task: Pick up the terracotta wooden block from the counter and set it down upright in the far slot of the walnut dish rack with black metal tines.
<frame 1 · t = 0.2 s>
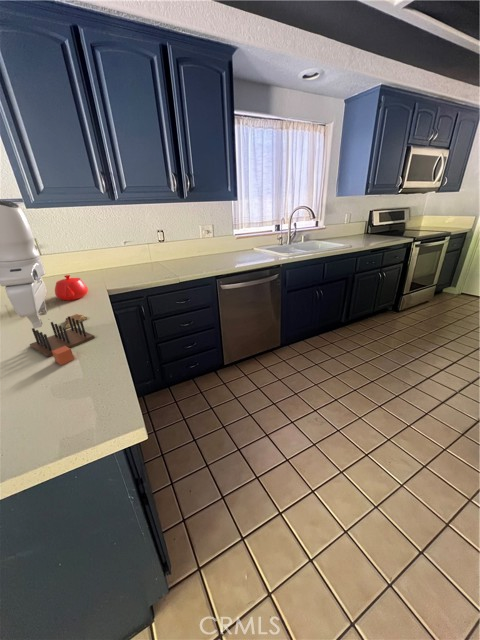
hand: (41, 320, 72), 18 cm above the worktop, tool pointing down, fingers open, 8 cm apart
block: (65, 360, 86), on the worktop
shard: (76, 322, 114), on the worktop
dish rack: (63, 342, 97), on the worktop
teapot: (73, 298, 144), on the worktop
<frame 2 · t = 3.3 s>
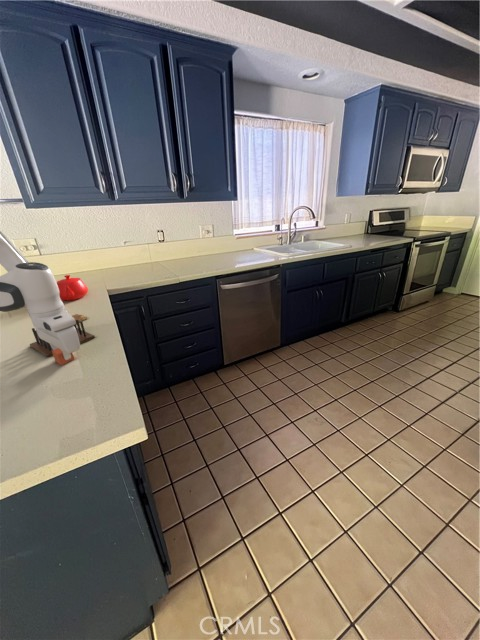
hand: (63, 356, 85), 2 cm above the worktop, tool pointing down, fingers closed on block, 4 cm apart
block: (65, 360, 86), on the worktop, touching gripper
everything else where it was.
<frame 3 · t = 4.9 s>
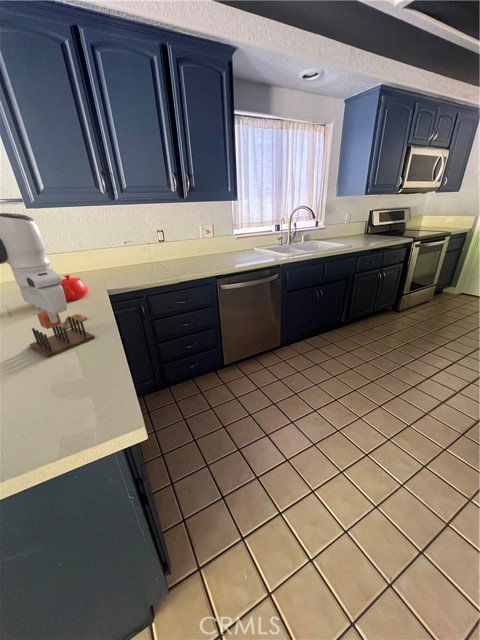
hand: (49, 320, 80), 14 cm above the worktop, tool pointing down, fingers closed on block, 4 cm apart
block: (51, 325, 80), point 13 cm above the worktop, touching gripper
everything else where it was.
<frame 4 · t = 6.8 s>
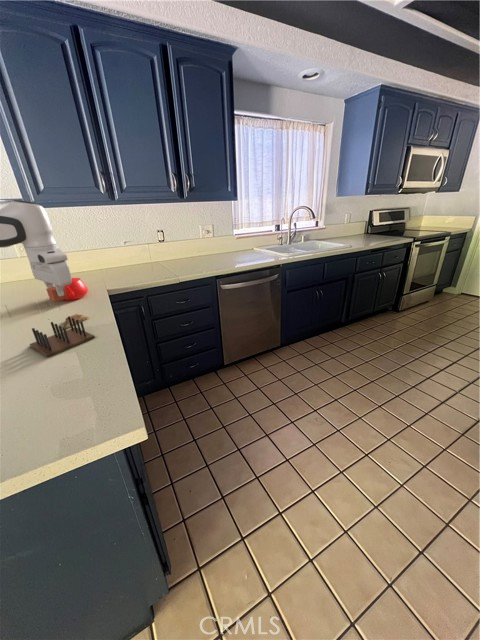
hand: (57, 294, 92), 18 cm above the worktop, tool pointing down, fingers closed on block, 4 cm apart
block: (58, 298, 93), point 16 cm above the worktop, touching gripper
everything else where it was.
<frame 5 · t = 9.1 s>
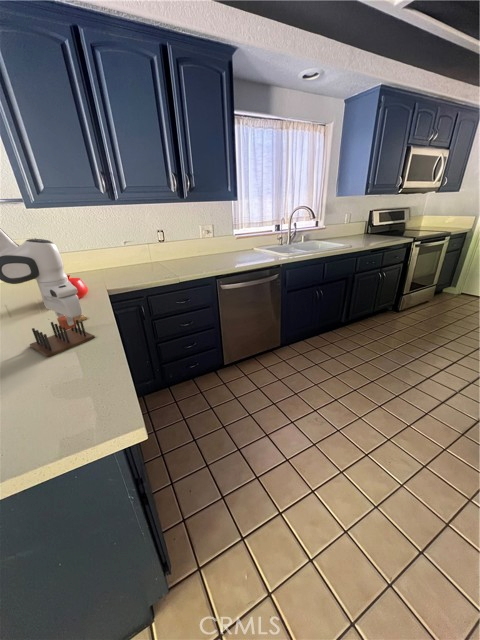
hand: (67, 323, 97), 6 cm above the worktop, tool pointing down, fingers closed on block, 4 cm apart
block: (68, 327, 98), point 5 cm above the worktop, touching gripper
everything else where it was.
when the fingers open (2 cm above the worktop, at t = 10.5 s): block stays where it is, resting on dish rack.
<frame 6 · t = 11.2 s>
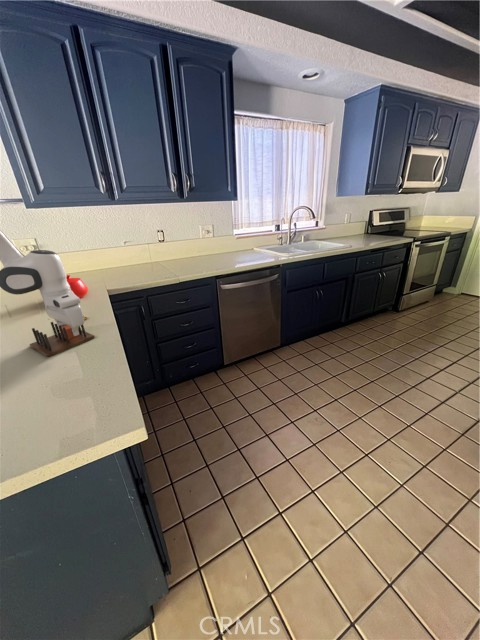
hand: (69, 332, 98), 3 cm above the worktop, tool pointing down, fingers open, 8 cm apart
block: (71, 336, 99), point 1 cm above the worktop, touching dish rack
everything else where it was.
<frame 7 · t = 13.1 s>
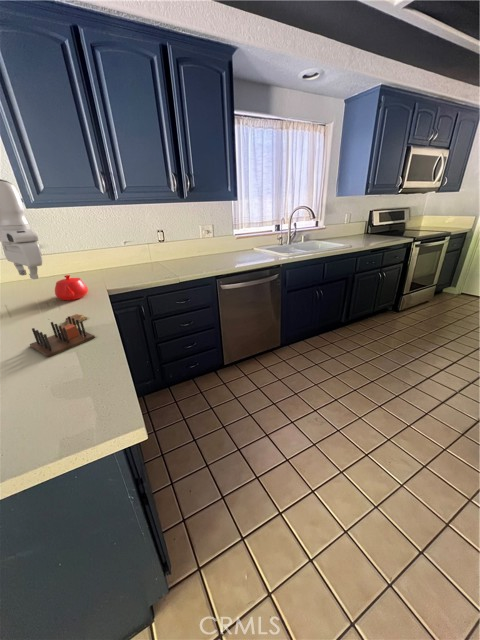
hand: (28, 276, 91), 24 cm above the worktop, tool pointing down, fingers open, 8 cm apart
nothing on the worktop moved.
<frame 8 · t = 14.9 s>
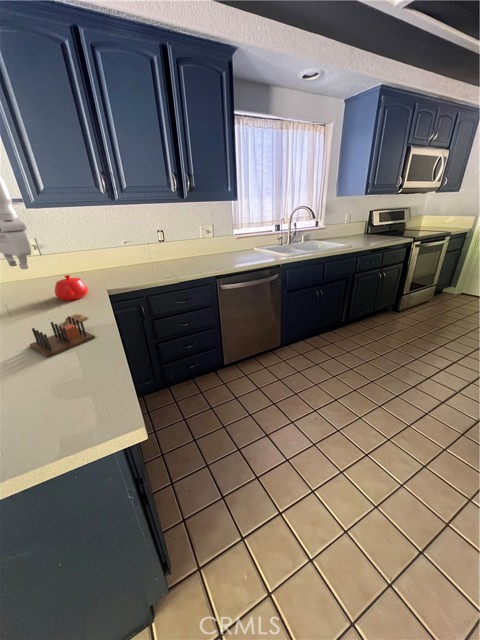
hand: (19, 267, 90), 27 cm above the worktop, tool pointing down, fingers open, 8 cm apart
nothing on the worktop moved.
at the end: block inside the target area on the dish rack (0.1 cm from its centre), point 1.0 cm above the dish rack's base; block tilted 0°; the gripper is holding nothing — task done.
